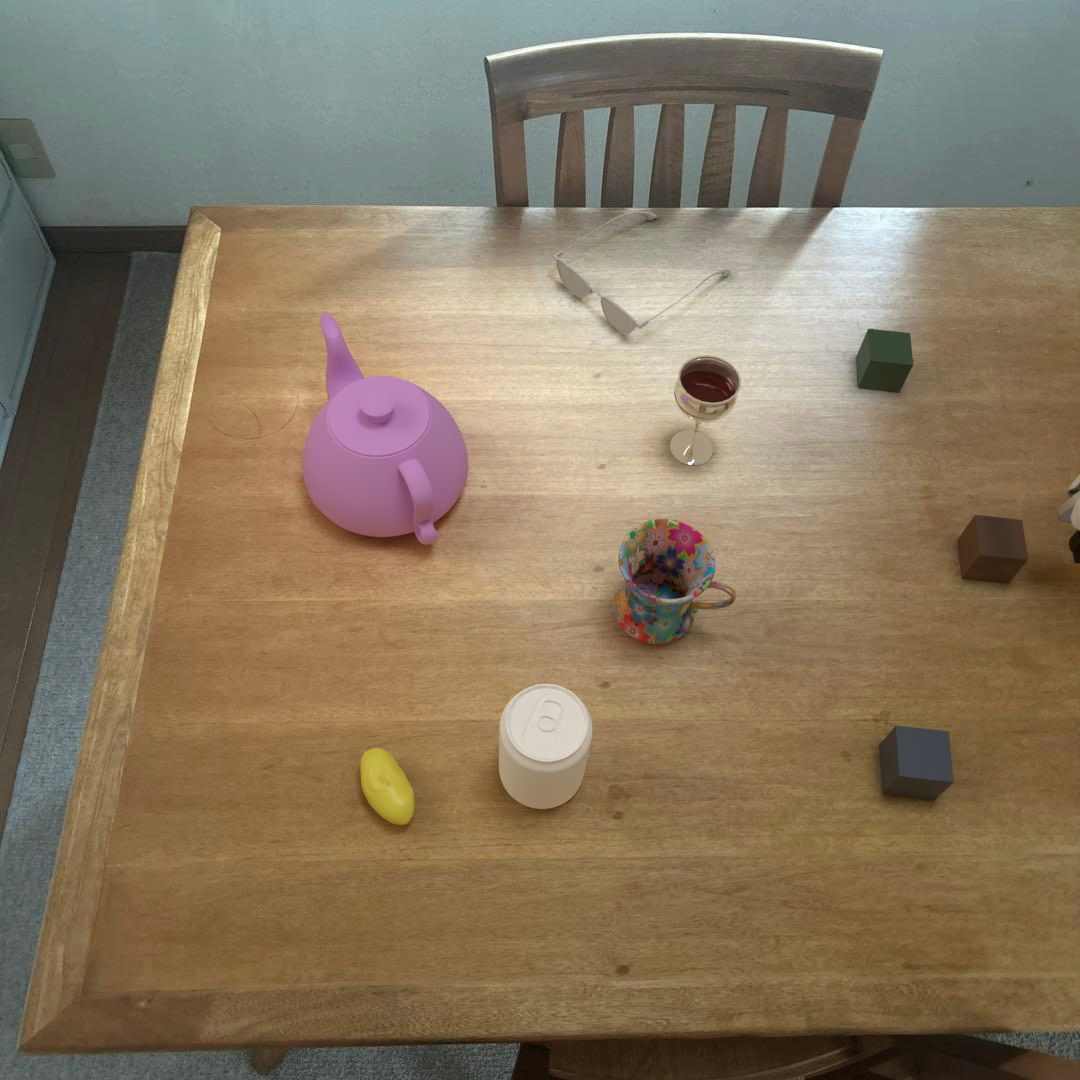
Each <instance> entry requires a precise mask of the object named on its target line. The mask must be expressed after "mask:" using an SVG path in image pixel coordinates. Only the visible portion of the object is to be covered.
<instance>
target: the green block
mask: <svg viewBox="0 0 1080 1080" xmlns="http://www.w3.org/2000/svg"><path fill="white" fill-rule="evenodd" d="M913 357H914V356H913V348H912V337H911V332H906V331H905V332H904V331H896V330H887V329H886V330H885V329H876V328H868V329H867V330H866V332H865V335H864V338H863V340H862V342H861V345H860V346H859V349H858V351H857V354H856V356H855V361H856V363H855V364H856V377H857V388H858V389H865V390H873V391H883V392H891V393H892V392H893V393H900V392H901V390H902V389H903V386H904V384H905V382H906V380H907V379H908V377H909V374H910V372H911V370H912V369H913V366H914V359H913Z"/></svg>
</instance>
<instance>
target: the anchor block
mask: <svg viewBox="0 0 1080 1080" xmlns="http://www.w3.org/2000/svg"><path fill="white" fill-rule="evenodd" d="M951 750H952V749H951V740H950V731H948V730H947V731H946V730H940V729H939V730H938V729H932V728H931V729H930V728H929V729H928V728H922V727H913V726H912V727H911V726H903V725H895V726H894V727H893V728H892V729H891V730H890V731H889V733H888V734H887V735H886V736H885V737H884V739H883V740H882V741H881V742H880V743H879V758H880V775H881V777H880V778H881V789H882V790H881V792H882V795H890V796H899V797H908V798H914V799H915V798H916V799H924V800H925V799H926V800H933V801H935V800H937V798H938V797H940V796H941V795H942V794H943V793H944V792H945V791H946V790H948V788H949V787H951V786H952V785H953V784H954V772H953V771H954V769H953V761H952V751H951Z"/></svg>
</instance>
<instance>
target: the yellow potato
mask: <svg viewBox="0 0 1080 1080" xmlns="http://www.w3.org/2000/svg"><path fill="white" fill-rule="evenodd" d="M359 763H360V764H359V769H360V770H359V771H360V785H361V789H362V792H363V795H364V797H365V798H366V799H365V800H367V802H368V804H369V805H370V807H372V809H373V810H374V811H375V813H377V814H378V815H379V816H380V817H381V818H383V819H384V820H385V821H387V822H388V823H390V824H393V825H396V826H397V825H398V826H405V825H407V824H409V823H410V821H411V820H412V818H413V816H414V812H415V792H414V789H413V787H412V785H411V784H410V782H409V780H408V777H407V773H405V772H404V770H403V769H402V768H401V767H400V765H399V764H398V762H397V760H396V759H395V757H394V755H393V754H391V753H390V751H388V750H387V749H385V748H381V747H374V748H370V749H368V750H366V751H365V752H364V753H363V754H362V757H361V758H360V762H359Z"/></svg>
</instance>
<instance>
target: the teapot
mask: <svg viewBox="0 0 1080 1080" xmlns="http://www.w3.org/2000/svg"><path fill="white" fill-rule="evenodd" d="M319 321H320V322H319V323H320V328H321V332H322V335H323V338H324V341H325V347H326V366H325V389H326V390H325V391H326V395H327V400H328V401H327V402H326V403H325V404H324V405H323V406H322V408H321V409H320V411H318V413H317V415H316V416H315V417H314V419H313V421H312V423H311V425H310V427H309V430H308V433H307V435H306V437H305V443H304V447H303V452H302V455H303V456H302V475H303V476H302V477H303V480H304V485H305V489H306V491H307V493H308V496H309V498H310V500H311V501H312V503H313V505H314V506H315V507H316V508H317V509H318V511H319V512H320V513H321V514H322V515H323V516H324V517H326V518H327V519H328V520H329V521H330V522H332V523H333V524H335V525H337V526H338V527H340V528H342V529H344V530H346V531H349V532H351V533H355V534H357V535H360V536H361V535H362V536H367V537H375V538H376V537H377V538H388V537H391V538H392V537H397V536H404V535H407V534H410V533H414V534H415V536H416V539H417V540H418V541H419V543H420V544H422V545H427V546H428V545H432V544H434V543H435V542H437V541H438V539H439V534H438V532H437V529H435V526H434V523H435V522H436V521H438V520H439V519H441V518H442V517H443V516H444V515H446V514H447V512H449V511H450V510H451V508H452V507H453V506H454V505H455V504H456V502H457V501H458V499H459V497H460V496H461V495H462V493H463V492H464V491H463V490H464V488H465V486H466V483H467V479H468V475H469V457H468V456H469V455H468V450H467V445H466V442H465V439H464V436H463V434H462V431H461V429H460V427H459V425H458V423H457V421H456V420H455V418H454V416H453V415H452V414H451V413H450V411H449V410H448V409H447V408H446V406H445V405H444V404H442V402H440V401H439V399H438V398H437V397H435V396H434V395H433V394H431V393H430V392H428V391H427V390H426V389H424V388H422V387H420V386H418V385H417V384H415V383H414V382H411V381H410V380H406V379H404V378H400V377H397V376H392V375H373V376H367V377H365V376H364V375H363V372H362V370H361V369H360V367H359V365H358V363H357V362H356V360H355V358H354V357H353V355H352V353H351V351H350V349H349V347H348V345H347V343H346V341H345V338H344V336H343V334H342V331H341V328H340V325H339V323H338V322H337V320H336V319H335V317H333V316H332V314H330V313H328V312H323V313H322V314H321V315H320V318H319Z"/></svg>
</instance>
